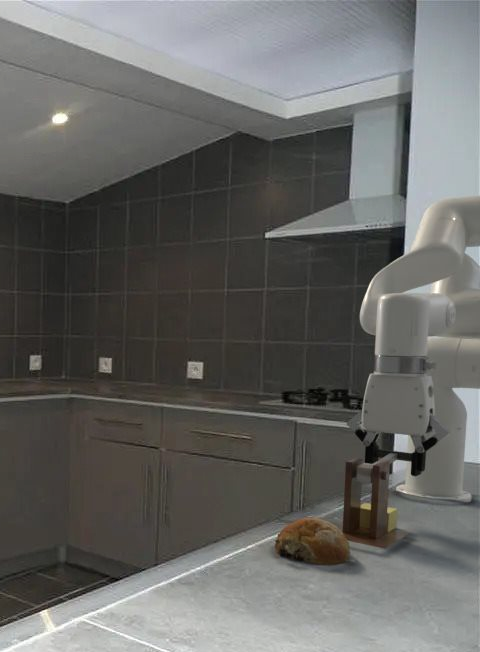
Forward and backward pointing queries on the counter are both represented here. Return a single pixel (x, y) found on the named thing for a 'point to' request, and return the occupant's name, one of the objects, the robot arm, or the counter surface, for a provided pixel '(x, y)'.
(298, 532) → the bread roll
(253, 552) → the counter surface
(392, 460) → the arm
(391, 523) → the butter
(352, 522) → the cutter
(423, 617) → the counter surface
